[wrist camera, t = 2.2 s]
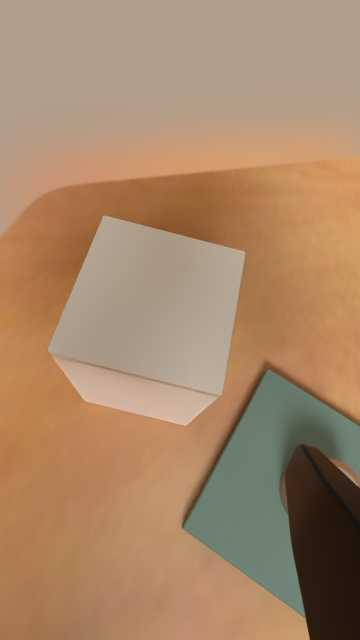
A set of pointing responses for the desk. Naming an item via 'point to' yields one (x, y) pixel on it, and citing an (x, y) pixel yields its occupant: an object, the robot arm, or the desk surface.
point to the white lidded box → (150, 321)
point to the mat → (267, 482)
